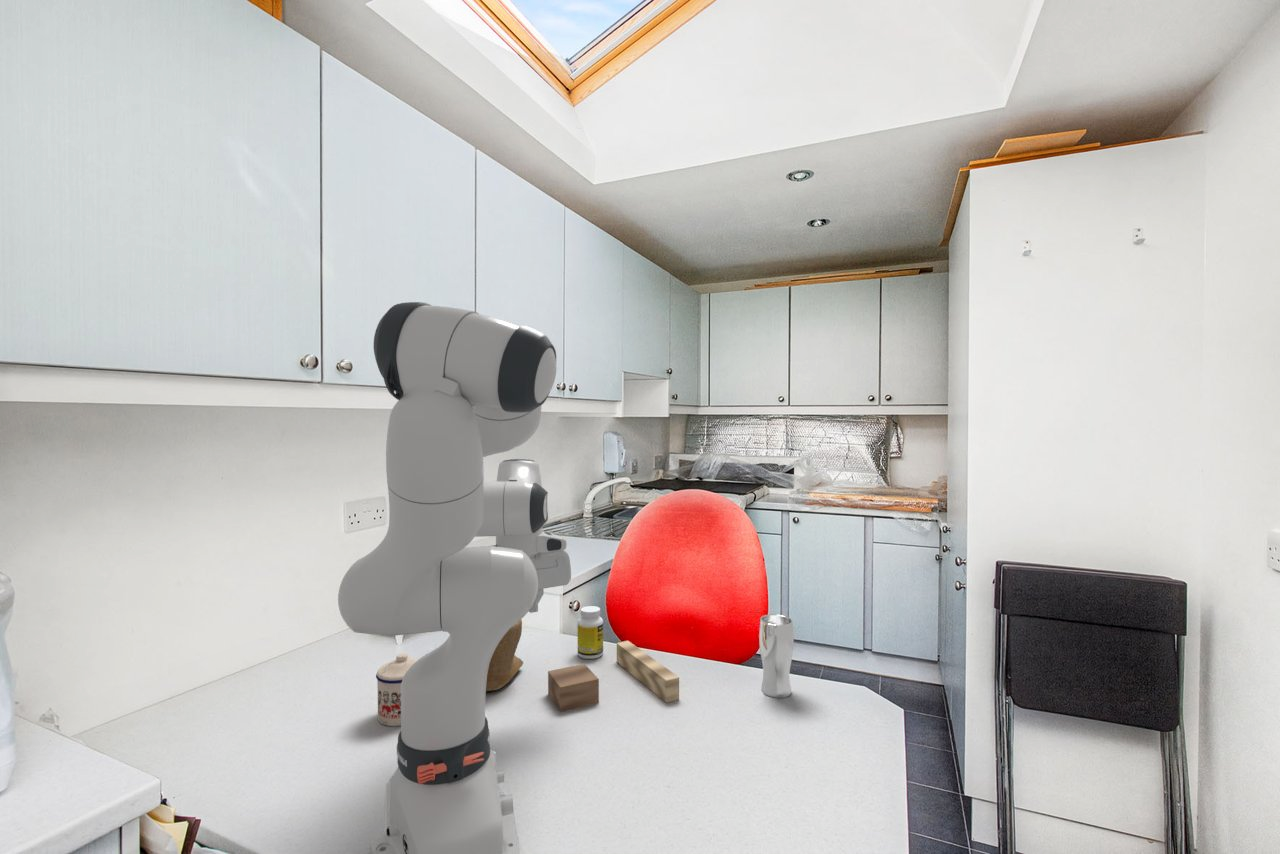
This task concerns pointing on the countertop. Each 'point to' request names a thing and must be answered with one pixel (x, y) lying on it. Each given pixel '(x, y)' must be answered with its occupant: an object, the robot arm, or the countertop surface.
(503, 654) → the stone cup
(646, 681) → the light wooden bar
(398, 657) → the teacup with lid
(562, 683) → the block
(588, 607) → the pill bottle
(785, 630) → the silver metal tumbler
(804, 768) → the countertop surface
